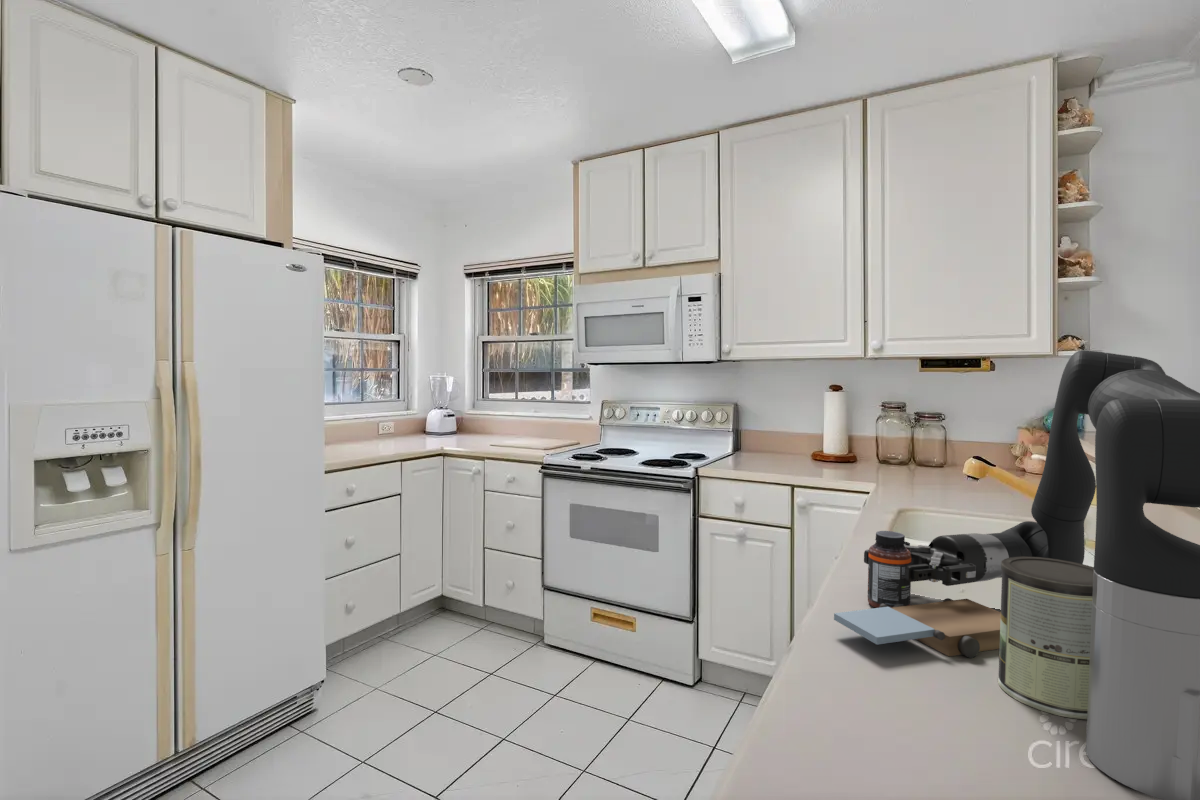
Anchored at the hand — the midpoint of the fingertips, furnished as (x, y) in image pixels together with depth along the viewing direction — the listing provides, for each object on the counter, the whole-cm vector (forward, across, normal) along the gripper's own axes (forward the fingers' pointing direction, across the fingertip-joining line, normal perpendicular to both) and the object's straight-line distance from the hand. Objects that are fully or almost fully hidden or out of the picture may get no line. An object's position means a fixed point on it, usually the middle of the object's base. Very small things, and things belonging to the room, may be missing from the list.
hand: (885, 565), depth 93 cm
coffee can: (+1, +26, +7) cm, 27 cm away
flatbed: (-3, +11, +6) cm, 13 cm away
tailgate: (+5, +10, +4) cm, 12 cm away
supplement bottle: (-1, 0, +7) cm, 7 cm away
